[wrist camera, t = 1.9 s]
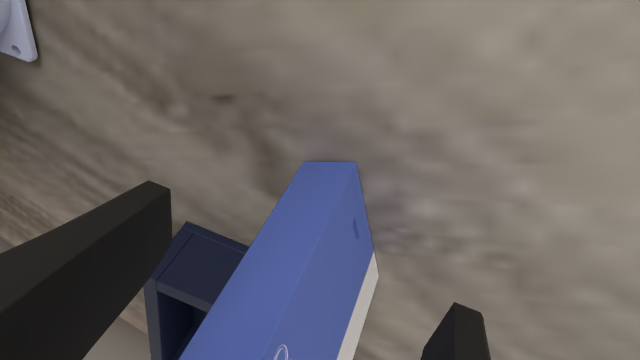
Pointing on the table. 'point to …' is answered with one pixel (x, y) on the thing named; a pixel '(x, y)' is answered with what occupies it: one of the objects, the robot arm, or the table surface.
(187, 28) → the table surface
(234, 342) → the walkman
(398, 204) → the table surface
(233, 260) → the holder
